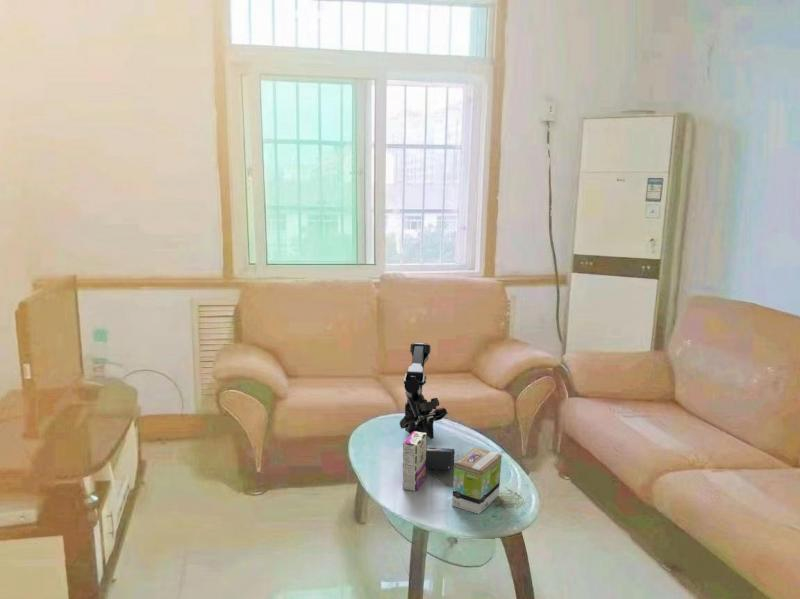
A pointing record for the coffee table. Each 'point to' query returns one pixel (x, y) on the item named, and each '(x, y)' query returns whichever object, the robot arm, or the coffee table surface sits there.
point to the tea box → (476, 480)
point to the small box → (439, 458)
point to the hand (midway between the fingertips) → (432, 438)
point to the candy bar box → (414, 461)
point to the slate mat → (444, 475)
